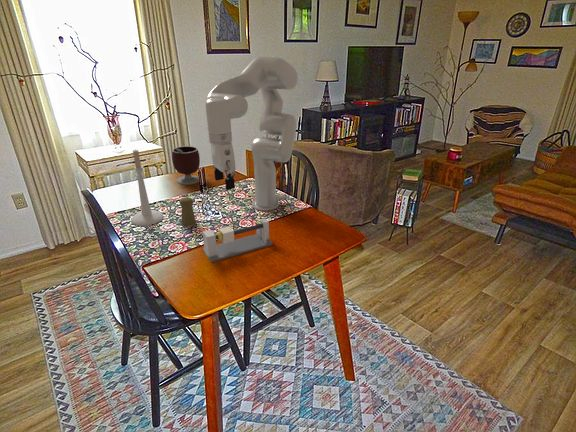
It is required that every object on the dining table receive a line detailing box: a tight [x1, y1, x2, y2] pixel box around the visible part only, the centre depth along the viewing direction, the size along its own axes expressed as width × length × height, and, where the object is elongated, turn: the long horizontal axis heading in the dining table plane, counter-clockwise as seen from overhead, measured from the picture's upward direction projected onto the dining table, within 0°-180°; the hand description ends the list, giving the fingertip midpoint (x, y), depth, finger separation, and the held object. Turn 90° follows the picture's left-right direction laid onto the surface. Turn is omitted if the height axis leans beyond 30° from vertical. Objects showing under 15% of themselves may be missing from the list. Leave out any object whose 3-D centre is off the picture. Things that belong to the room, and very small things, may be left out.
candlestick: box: [130, 149, 164, 227], centre depth 143 cm, size 13×13×30 cm
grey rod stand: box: [202, 218, 274, 263], centre depth 128 cm, size 24×9×9 cm, turn 121°
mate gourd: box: [171, 145, 201, 185], centre depth 185 cm, size 16×14×20 cm
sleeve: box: [218, 226, 235, 243], centre depth 125 cm, size 4×4×4 cm
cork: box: [179, 196, 197, 227], centre depth 144 cm, size 6×6×11 cm
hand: (224, 184), depth 126 cm, fingers open, 9 cm apart
